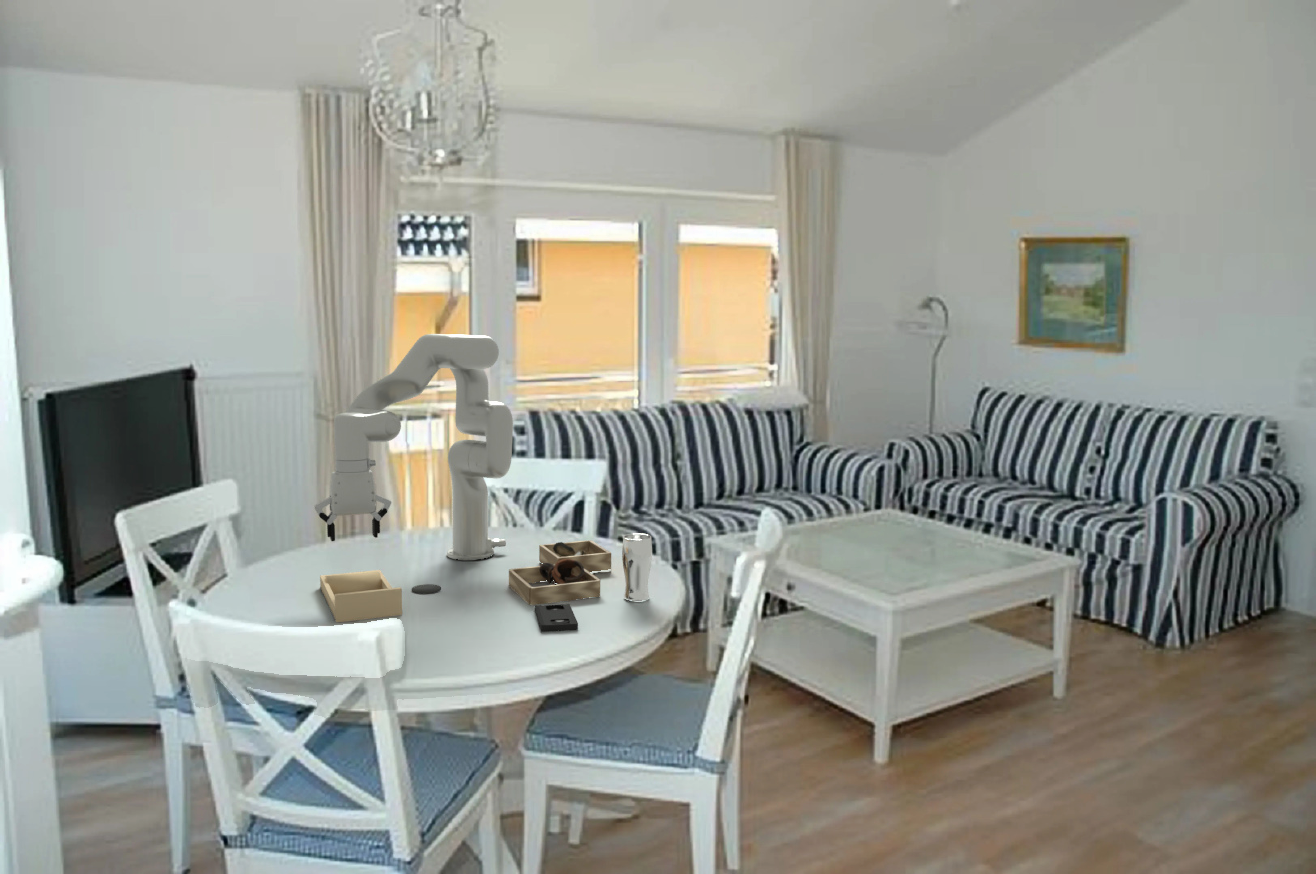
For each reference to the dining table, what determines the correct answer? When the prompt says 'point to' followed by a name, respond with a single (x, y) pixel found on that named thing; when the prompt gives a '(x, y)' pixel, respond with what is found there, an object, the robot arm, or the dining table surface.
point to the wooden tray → (591, 561)
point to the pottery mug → (562, 572)
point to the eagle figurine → (566, 550)
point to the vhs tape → (555, 618)
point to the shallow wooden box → (551, 586)
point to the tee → (426, 589)
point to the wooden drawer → (360, 596)
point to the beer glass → (636, 565)
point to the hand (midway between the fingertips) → (354, 538)
